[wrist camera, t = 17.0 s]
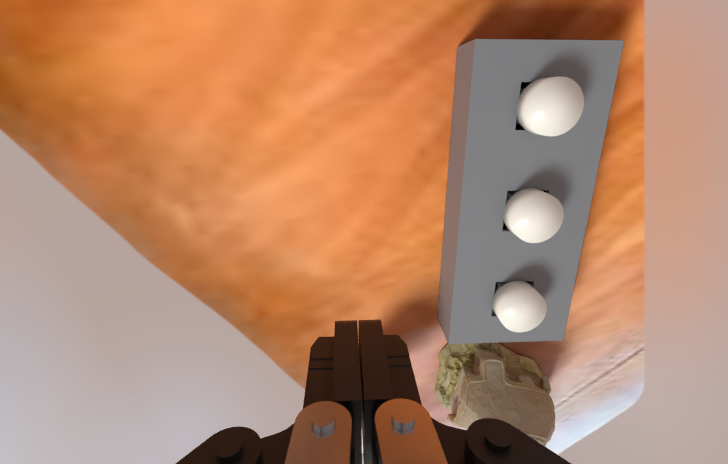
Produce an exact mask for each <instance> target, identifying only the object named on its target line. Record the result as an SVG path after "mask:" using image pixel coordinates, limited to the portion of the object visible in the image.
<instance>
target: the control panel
mask: <svg viewBox="0 0 728 464" xmlns="http://www.w3.org/2000/svg"><path fill="white" fill-rule="evenodd" d="M623 44H624V40H535V39H474V40H472V41H470V42H467V43H465V44H463V45H461V46H458V47H457V58H456V72H455V85H454V99H453V112H452V125H451V139H450V152H449V166H448V179H447V193H446V206H445V219H444V233H443V246H442V260H441V273H440V286H439V300H438V313H437V318H438V321H439V323H440V325H441V328H442V330H443V332H444V335H445V337H446V339H447V342H448V344H464V343H499V342H533V341H563V339H564V334H565V329H566V324H567V319H568V314H569V310H570V305H571V300H572V295H573V290H574V285H575V280H576V275H577V270H578V265H579V260H580V255H581V250H582V246H583V241H584V236H585V231H586V226H587V221H588V216H589V211H590V206H591V201H592V196H593V191H594V186H595V182H596V177H597V172H598V167H599V162H600V157H601V152H602V147H603V142H604V137H605V132H606V127H607V123H608V118H609V113H610V108H611V103H612V98H613V93H614V88H615V83H616V78H617V73H618V68H619V63H620V59H621V54H622V49H623ZM559 76H562V77H568V78H570V79H572V80H574V81H575V82H576V83H577V84H578V85H579V86H580V88H581V90H582V92H583V96H584V107H583V111H582V114H581V116H580V118H579V120H578V122H577V123H576V124H575V125H574V126H573V127H572V128H571V129H570V130H569V131H567V132H566V133H564V134H561V135H558V136H543V135H538V134H533V133H530V132H528V131H526V130H515V128H516V120H517V103H518V100H519V97H520V89H521V82H534V81H536V80H538V79H541V78H549V77H559ZM527 188H535V189H539V190H546V191H545V192H546V193H548V194H550V195H552V196H554V197H555V198H557V199H558V200H559V201H560V203H561V205H562V207H563V211H564V218H563V222H562V225H561V227H560V228H559V230H558V231H557V232H556V234H554V235H553V236H552V237H551V238H549V239H548V240H546V241H543V242H540V243H528V242H525V241H523V240H521V239H520V238H519V237H517V236H516V235H515V234H514V233H512V232H511V231H510V230H509V229H503V222H504V219H503V212H504V208H505V205H506V198H507V191H521V190H523V189H527ZM512 281H531V284H530V285H531V286H532V287H533V288H534V289H535V290H536V291H537V292H538V293H539V294H540V295H541V296H542V297H543V298H544V299H545V301H546V304H547V312H546V315H545V318H544V319H543V321H542V322H541V323H540V324H539V325H538V326H537V327H535V328H534V329H532V330H530V331H527V332H513V331H510V330H508V329H507V328H505V327H504V325H503V324H502V323H501V321H500V320H499V318H498V317H497V316H496V314H495V313H494V312H492V300H493V297H494V292H495V285H496V282H512Z"/></svg>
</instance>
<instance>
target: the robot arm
mask: <svg viewBox="0 0 728 464" xmlns="http://www.w3.org/2000/svg"><path fill="white" fill-rule="evenodd" d="M362 439H363V455H364V464H571V463H569V462H567V461H566V460H565V459H563V458H561V457H560V456H558V455H557V454H555V453H554V452H552V451H551V450H549V449H548V448H546V447H545V446H543V445H542V444H540V443H539V442H537V441H535V440H534V439H532V438H531V437H529V436H528V435H526V434H525V433H523V432H522V431H520V430H519V429H517V428H516V427H514V426H512V425H511V424H509V423H507V422H505V421H502V420H499V419H494V418H483V419H479V420H476V421H474V422H473V423H472V424H471V425H470V426H469V428H468V429H467V431H466V430H462V429H458V428H454V427H450V426H446V425H444V424H441V423H439V422H437V421H436V420H434V419H433V418H431V417H430V415H429V413H428V411H427V410H426V409H425V408H424V407H423V406H422V404H421V400H420V396H419V393H418V389H417V385H416V381H415V377H414V373H413V369H412V366H411V361H410V358H409V353H408V349H407V345H406V344H405V343H404V341H403V340H402V339H401V338H400V337H399V336H398V335H383V330H382V324H381V320H359V346H358V329H357V320H354V321H335V335H334V337H319V338H318V339H317V340H316V341H315V343H314V344H313V345H312V347H311V351H310V360H309V366H308V374H307V382H306V389H305V397H304V405H303V410H302V411H301V412H300V413H299V414H298V416H297V417H296V420H295V423H294V424H293V425H291V426H290V427H289V428H287V429H286V430H284V431H282V432H280V433H277V434H274V435H271V436H268V437H264V438H262V439H260V437H259V435H258V434H257V433H256V432H255V431H253V430H251V429H249V428H246V427H231V428H227V429H224V430H222V431H219V432H218V433H216V434H214V435H213V436H211V437H210V438H209V439H207V440H206V441H205V442H203V443H202V444H201V445H200V446H198V447H197V448H195V449H194V450H193V451H192V452H190V453H189V454H188V455H186V456H185V457H184V458H183V459H181V460H180V461H179V462H177V463H176V464H362Z"/></svg>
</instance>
